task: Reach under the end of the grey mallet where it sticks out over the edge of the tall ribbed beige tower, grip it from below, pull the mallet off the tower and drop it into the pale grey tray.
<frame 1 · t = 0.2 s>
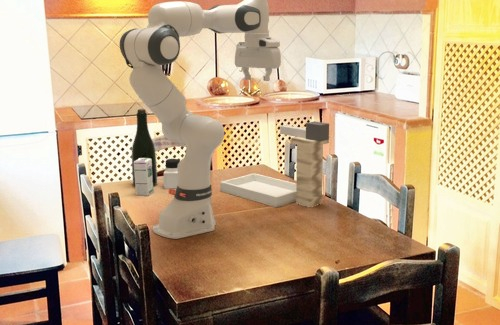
hand: (257, 80, 222), 48 cm above the table, fingers open, 8 cm apart
ribbed beige tower: (309, 203, 235), on the table
grey mallet: (305, 137, 230), point 26 cm above the table, touching ribbed beige tower
syrup box: (144, 194, 251), on the table
wine bottle: (145, 185, 264), on the table
tray: (264, 193, 249), on the table
medicine bottle: (173, 186, 261), on the table
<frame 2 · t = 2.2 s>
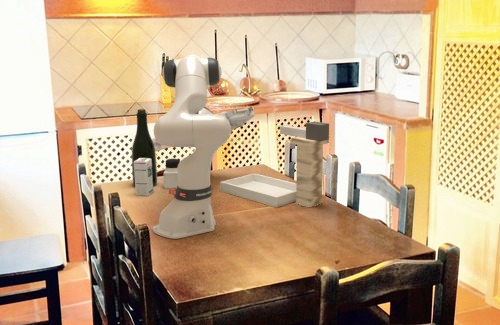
hand: (244, 109, 252), 33 cm above the table, fingers open, 8 cm apart
nothing on the table moved.
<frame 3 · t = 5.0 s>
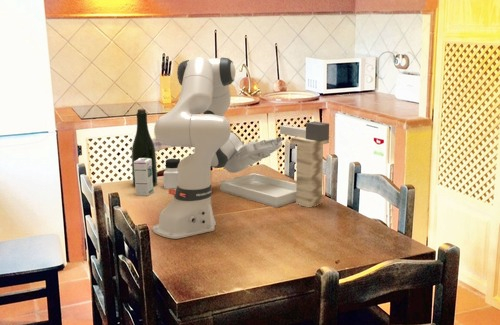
hand: (272, 140, 243), 23 cm above the table, fingers open, 8 cm apart
nothing on the table moved.
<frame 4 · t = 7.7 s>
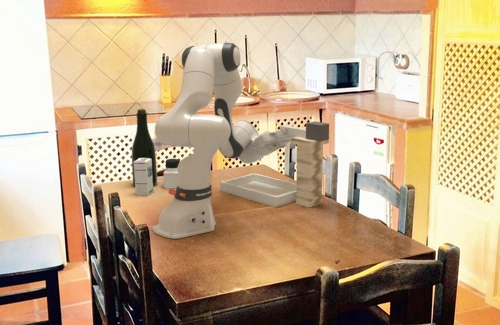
hand: (289, 129, 236), 28 cm above the table, fingers closed on grey mallet, 3 cm apart
grey mallet: (306, 137, 230), point 26 cm above the table, touching gripper, ribbed beige tower
everything else where it was.
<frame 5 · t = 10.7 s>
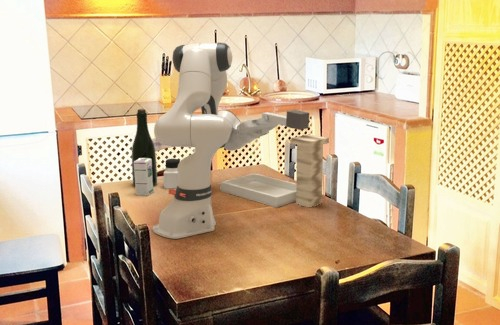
hand: (271, 116, 242), 32 cm above the table, fingers closed on grey mallet, 3 cm apart
grey mallet: (286, 125, 237), point 30 cm above the table, touching gripper
everything else where it was.
when the fingers open (21 cm above the table, at t = 13.7 s): grey mallet drops 17 cm, resting on tray.
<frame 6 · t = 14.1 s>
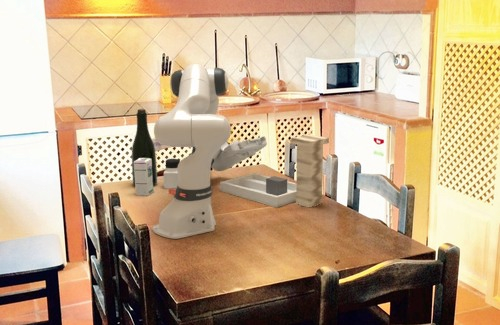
hand: (257, 139, 250), 21 cm above the table, fingers open, 7 cm apart
grey mallet: (266, 190, 250), point 1 cm above the table, touching tray
everything else where it was.
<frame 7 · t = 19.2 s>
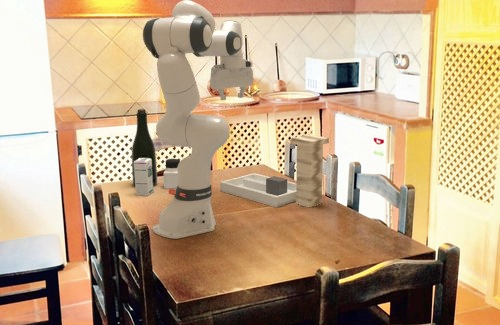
hand: (232, 98, 240), 39 cm above the table, fingers open, 8 cm apart
nothing on the table moved.
at the end: grey mallet inside the target area on the tray (1.4 cm from its centre), point 1.0 cm above the tray's base; the gripper is holding nothing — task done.
